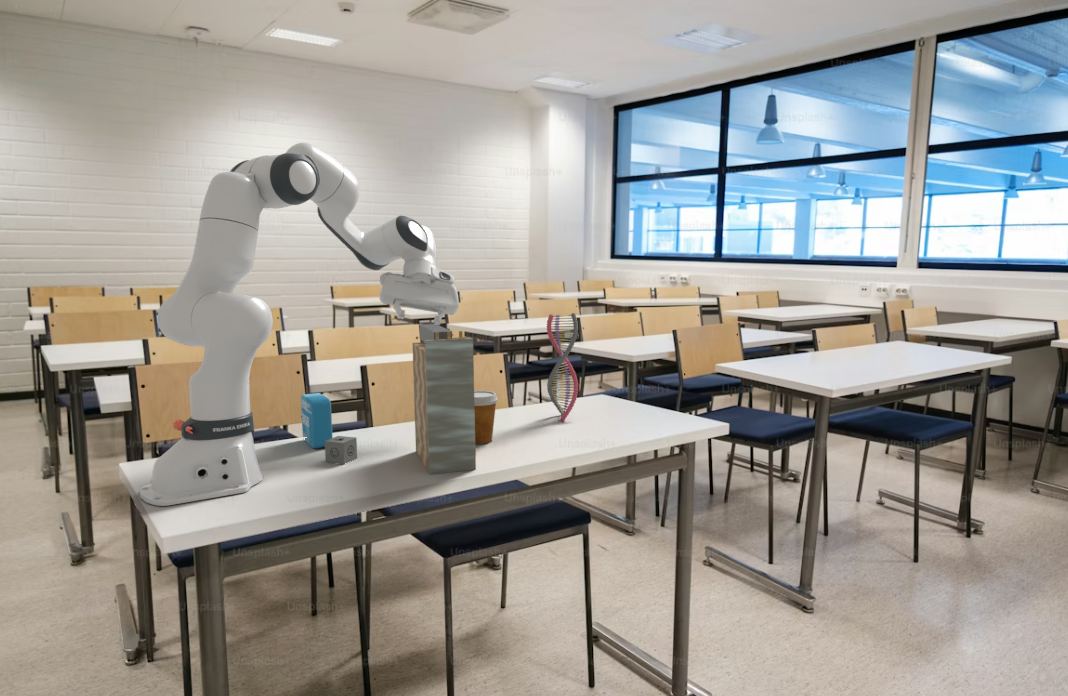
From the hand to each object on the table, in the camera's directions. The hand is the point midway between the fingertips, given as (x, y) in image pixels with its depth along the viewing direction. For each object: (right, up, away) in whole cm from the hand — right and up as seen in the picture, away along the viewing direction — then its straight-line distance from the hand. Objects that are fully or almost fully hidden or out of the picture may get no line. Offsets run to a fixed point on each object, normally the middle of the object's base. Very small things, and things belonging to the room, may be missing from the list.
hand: (419, 320), depth 177 cm
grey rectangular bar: (+6, -6, -14) cm, 16 cm away
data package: (-25, -31, -3) cm, 40 cm away
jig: (+9, -32, -18) cm, 38 cm away
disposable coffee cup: (+15, -30, -2) cm, 34 cm away
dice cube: (-15, -33, -18) cm, 40 cm away
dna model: (+37, -27, +23) cm, 52 cm away
